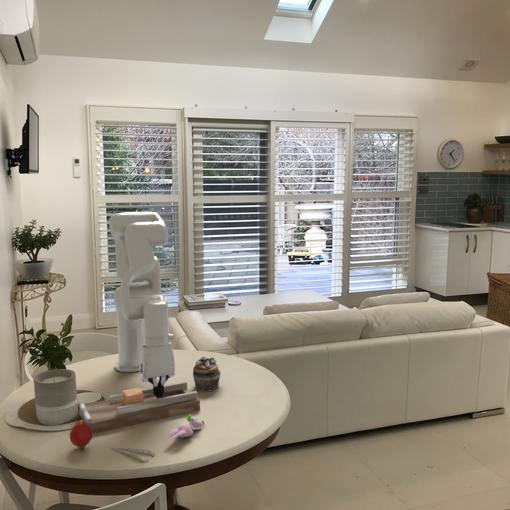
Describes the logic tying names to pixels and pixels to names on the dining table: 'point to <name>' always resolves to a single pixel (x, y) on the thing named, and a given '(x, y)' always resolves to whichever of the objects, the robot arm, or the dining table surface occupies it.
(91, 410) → the trap tube
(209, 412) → the dining table surface
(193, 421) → the pink plastic figure
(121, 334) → the robot arm
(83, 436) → the onion
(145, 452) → the tweezers
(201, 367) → the cupcake
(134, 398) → the block
